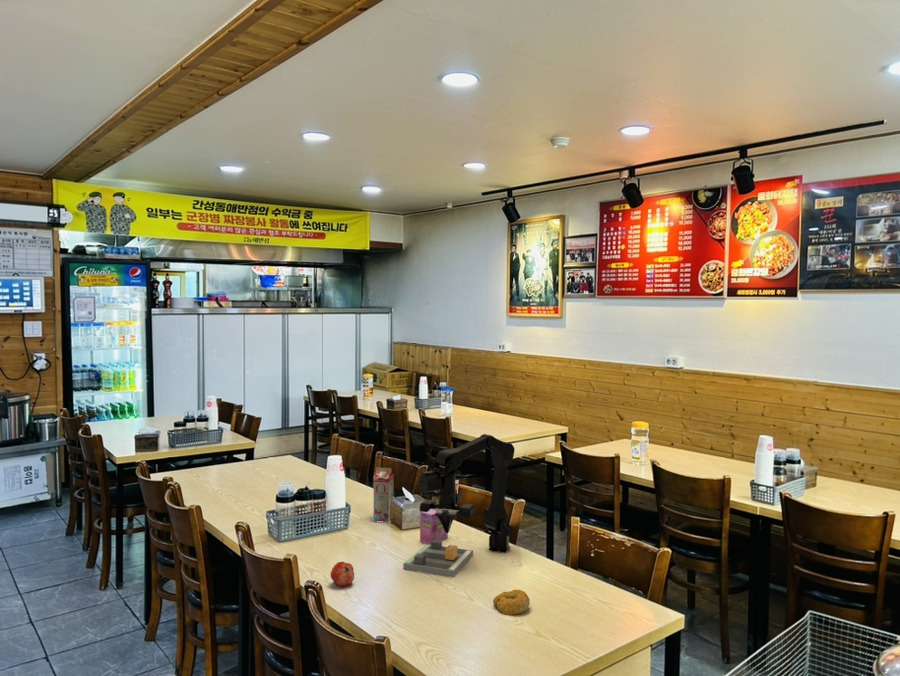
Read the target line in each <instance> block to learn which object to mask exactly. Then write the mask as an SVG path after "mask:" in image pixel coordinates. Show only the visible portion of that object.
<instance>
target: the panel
mask: <svg viewBox="0 0 900 676" xmlns="http://www.w3.org/2000/svg"><path fill="white" fill-rule="evenodd" d="M447 547H448V546H443V540H435V539H434V540H433V541H432V542H431V545H430V544H424V546H422V547H421V548H419V549H418V551H416V552H415V553H414V554H412V556H410V558H408V559H407V560H405V562H403V564H402V567H403V570H404V569H405V570H406V571H411V570H413V571H412V572H417V571H421V572H420V573H423V572H425V573H424V574H430V573H431V574H430V575H436V574H438V576H442V575H444V577H449V576H451V577H450V578H454V577H455V576H456V575H457V574H458V573H459V572H460V571H461V569H462V568H463V567H464V566H465V565H466V564H467V563H468V562H469V561H470V560H471V559H472V558H473V556H474V550H473V549H472V550H471V549H464V548H460V547H459V548H458V547H457V557H456V558H455V559H454V560H449V559H445V548H447ZM471 557H472V558H471ZM459 570H460V571H459Z"/></svg>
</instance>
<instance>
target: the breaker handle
mask: <svg viewBox="0 0 900 676" xmlns="http://www.w3.org/2000/svg"><path fill="white" fill-rule="evenodd" d="M446 547H447V548H445V559H449V560H454V559H455V558H456V557H457V548H458V546H457V545H453V544H452V545H451V544H449V545H448V546H446Z"/></svg>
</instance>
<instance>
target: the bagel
mask: <svg viewBox="0 0 900 676" xmlns="http://www.w3.org/2000/svg"><path fill="white" fill-rule="evenodd" d="M492 603H493V605H494V606H495V607H496V608H497V610H498V612H501V614H503V615H507V616H508V615H511V616H513V615H514V616H515V615H518V614H521V613H524V612H526V611H527V610H528V608H529V606H530V598H529V596H528V594H527V593H526V592H525V591H524V590H521V589H512V590H511V591H503V592H501V593H499V594H498V595H496V596H495V597H494V598H493V600H492Z"/></svg>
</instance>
